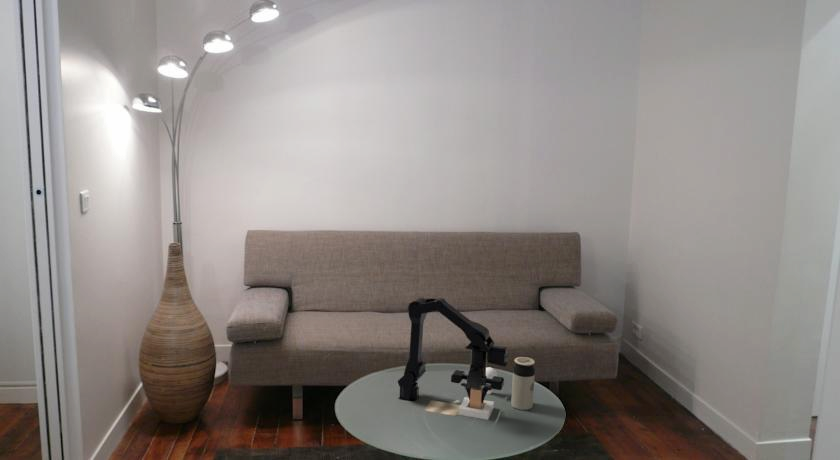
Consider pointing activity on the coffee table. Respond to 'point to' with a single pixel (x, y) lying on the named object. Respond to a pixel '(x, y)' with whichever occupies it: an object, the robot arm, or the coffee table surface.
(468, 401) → the socket block
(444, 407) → the tray slab
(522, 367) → the travel mug
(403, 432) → the coffee table surface
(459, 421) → the coffee table surface
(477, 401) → the plug
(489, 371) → the lightbulb
